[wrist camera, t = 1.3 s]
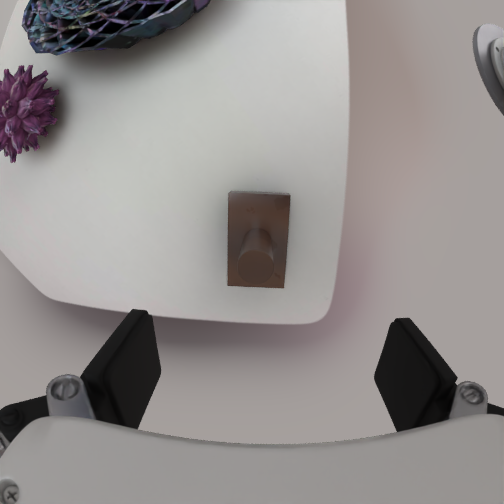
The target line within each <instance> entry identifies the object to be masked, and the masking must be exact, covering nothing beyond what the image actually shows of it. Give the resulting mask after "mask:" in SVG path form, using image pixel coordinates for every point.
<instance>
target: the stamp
mask: <svg viewBox="0 0 504 504" xmlns="http://www.w3.org/2000/svg"><path fill="white" fill-rule="evenodd" d="M289 212H290V194H289V193H272V192H248V191H230V192H229V198H228V280H227V285H228V286H243V287H265V288H284V281H285V269H286V256H287V242H288V228H289Z"/></svg>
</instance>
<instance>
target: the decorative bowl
mask: <svg viewBox="0 0 504 504" xmlns="http://www.w3.org/2000/svg"><path fill="white" fill-rule="evenodd" d="M209 2H210V0H30V1H29V3H28V5H27V7H26V9H25V10H24V16H23V21H22V27H23V28H24V30H25V31H26V32H27V34H28V39H29V40H30V41H29V43H30V45H31V46H32V48H33V49H34V51H35V52H36V53H52V54H54V55H56V56H57V55H60V54H63V53H66V52H77V51H85V50H104V49H107V48H119V49H121V48H130V47H131V46H133V45H134V44H136V43H137V42H138V41H139V40H140V39H141V38H148V39H150V38H152V37H155V36H157V35H159V34H161V33H163V32H165V31H166V30H167V29H173V28H176V27H178V26H180V25H182V24H183V23H184V22H186V21H187V20H188V19H190V17H191V15H192V14H193V13H197V12H199V11H201V10H202V9H204V8H205V7H207V6H208V4H209Z"/></svg>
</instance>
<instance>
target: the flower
mask: <svg viewBox="0 0 504 504" xmlns="http://www.w3.org/2000/svg"><path fill="white" fill-rule="evenodd" d="M32 68H33V65H29V66H28V68H27V70H26V71H24V65H23V66H22V65H21V66H19V68H18V71H17V72H16V74H15V75H14V76H13V75H11V74H10V72H9V69H7V70H6V69H5V70H4V78H3V81H0V151H1V150H3V149H4V155H5V157H6V156H8V155H9V156H10V162H11V163H13V162H15V161H16V155H17V154H21V152H22V148H24V150H25V152H27V151H29V147H28V146H30V147H32V148H33V149H34V150H35V151H36V150H37V149H38V148H40V146H39V144H38V139H37V137H38V136H37V135H42V136H44V137H46V136H47V134H48V132H47V131H46V130H45V127H44V126H47V125H50V124H56V121H57V120H58V119H57V118H54V117H53V116H52V115H51V114H50V112H54V111H55V109H56V108H55V106H51V105H54V103H55V100H54V99H53V98H54V97H55V96H56V95H58V94H59V93H58V92H59V90H58V89H57V90H54V91H51V90H52V88H51V87H50V88H48V89H43V87H44V84H45V83H46V82H47V80H48V79H47V78H46V76H47V75H48V73H47V71H46V70H45V71H44V72H43V73H42V74H40V75H38V76H36V77H34V78H33V79H32Z"/></svg>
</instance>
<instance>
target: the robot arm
mask: <svg viewBox="0 0 504 504" xmlns="http://www.w3.org/2000/svg"><path fill="white" fill-rule="evenodd" d="M490 51H491V59H492V64H493V67H494V70H495V73H496V75H497V78H498V80H499V82H500V84H501V86H502V88H503V89H504V38H497V39H495V40H493V42H492V44H491V50H490ZM160 375H161V366H160V360H159V355H158V349H157V343H156V337H155V331H154V325H153V318H152V315H149V314H148V312H147V311H146V310H137V309H132V310H131V311H130V313H129V314H128V315H127V316H126V318H125V319H124V320H123V321H122V322H121V324H120V325H119V326H118V327H117V329H116V330H115V331H114V332H113V334H112V335H111V336H110V337H109V339H108V340H107V341H106V343H105V344H104V345H103V347H102V348H101V349H100V350H99V352H98V353H97V354H96V355H95V357H94V358H93V359H92V361H91V362H90V363H89V365H88V366H87V367H86V369H85V370H84V371H83V373H82V375H81V376H80V378H79V377H78V376H75V375H70V374H67V375H61V376H58V377H56V378H54V379H53V380H52V381H51V382H50V383H49V384H48V386H47V388H46V396H42V397H38V398H34V399H30V400H26V401H23V402H19V403H14V404H10V405H8V406H5V407H4V408H2V409H1V410H0V504H504V408H501V407H498V406H495V405H492V404H489V403H487V402H488V397H487V393H486V391H485V389H484V388H483V387H482V386H480V385H479V384H477V383H475V382H470V381H465V382H462V383H460V384H459V385H458V386H457V385H456V383H455V382H456V380H457V376H456V375H455V373H454V372H453V371H452V370H451V368H450V367H449V366H448V364H447V363H446V362H445V361H444V359H443V358H442V357H441V355H440V354H439V353H438V352H437V350H436V349H435V348H434V347H433V346H432V344H431V343H430V342H429V341H428V340H427V338H426V337H425V336H424V335H423V333H422V332H421V331H420V330H419V328H418V327H417V326H416V325H415V324H414V323H413V322H412V320H411V319H410V318H397V319H395V320H394V322H392V323H391V325H390V327H389V331H388V334H387V337H386V341H385V344H384V347H383V350H382V353H381V356H380V359H379V362H378V365H377V368H376V371H375V375H374V380H375V383H376V385H377V387H378V389H379V392H380V394H381V396H382V398H383V401H384V403H385V405H386V407H387V409H388V412H389V414H390V417H391V419H392V421H393V424H394V426H395V428H396V431H397V432H396V433H390V434H385V435H379V436H374V437H367V438H360V439H353V440H344V441H335V442H323V443H308V444H241V443H227V442H214V441H205V440H197V439H189V438H182V437H176V436H170V435H164V434H158V433H153V432H148V431H142V430H138V427H139V424H140V422H141V420H142V417H143V415H144V413H145V410H146V408H147V405H148V403H149V401H150V398H151V396H152V394H153V391H154V389H155V387H156V384H157V382H158V380H159V378H160Z"/></svg>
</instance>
